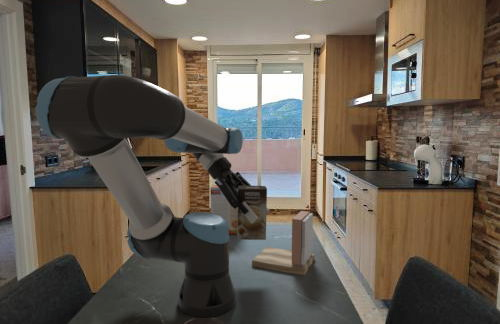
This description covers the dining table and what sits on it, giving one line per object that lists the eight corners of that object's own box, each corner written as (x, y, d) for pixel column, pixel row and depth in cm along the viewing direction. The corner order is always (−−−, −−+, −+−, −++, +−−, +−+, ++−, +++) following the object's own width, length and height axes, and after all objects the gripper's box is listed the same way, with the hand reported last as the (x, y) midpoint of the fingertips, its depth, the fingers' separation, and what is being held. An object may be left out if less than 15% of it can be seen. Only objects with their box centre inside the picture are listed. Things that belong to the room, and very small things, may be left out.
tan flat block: (300, 265, 108) (301, 219, 106) (291, 263, 109) (292, 218, 107) (308, 253, 118) (309, 211, 116) (300, 252, 119) (301, 210, 117)
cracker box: (244, 230, 151) (244, 185, 149) (242, 235, 145) (242, 187, 143) (213, 229, 153) (213, 184, 150) (210, 234, 147) (210, 186, 144)
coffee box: (236, 240, 103) (236, 188, 102) (237, 233, 110) (237, 185, 108) (266, 240, 104) (267, 188, 102) (265, 233, 110) (265, 185, 108)
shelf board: (304, 275, 106) (304, 269, 106) (252, 266, 113) (252, 260, 113) (314, 259, 119) (314, 253, 119) (266, 251, 126) (266, 246, 126)
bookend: (304, 267, 107) (305, 221, 106) (292, 265, 109) (292, 220, 107) (312, 255, 117) (312, 213, 116) (300, 253, 119) (301, 212, 117)
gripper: (224, 167, 120) (265, 215, 116) (190, 175, 101) (238, 234, 96) (237, 153, 118) (280, 202, 113) (205, 158, 98) (255, 218, 93)
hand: (261, 216), depth 105 cm, fingers closed on coffee box, 9 cm apart
